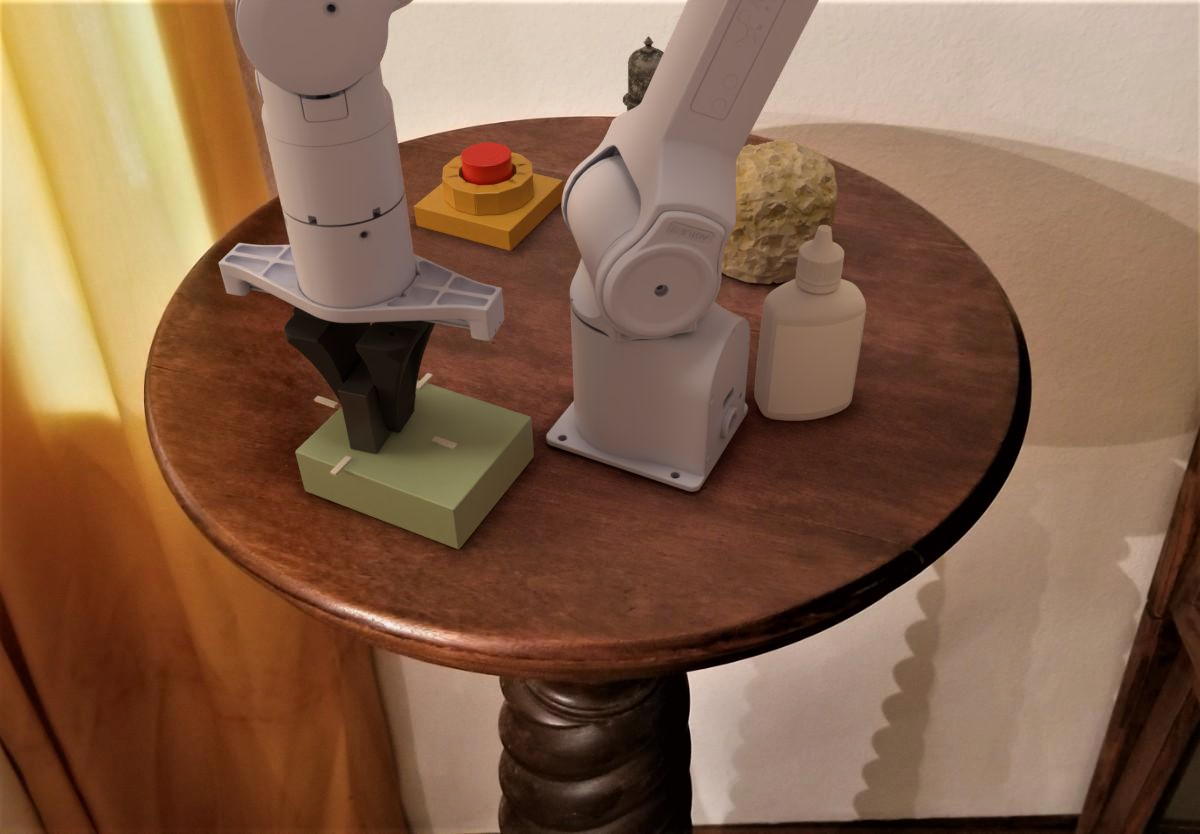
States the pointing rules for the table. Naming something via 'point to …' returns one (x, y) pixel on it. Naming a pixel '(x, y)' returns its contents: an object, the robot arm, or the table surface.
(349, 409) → the knob
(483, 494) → the panel
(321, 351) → the robot arm
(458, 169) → the button box
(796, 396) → the eye dropper bottle
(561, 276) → the table surface
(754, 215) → the coral
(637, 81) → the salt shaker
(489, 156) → the button
